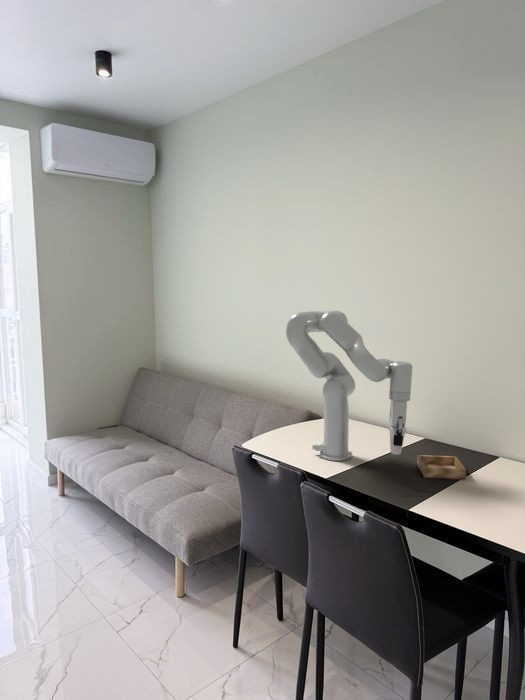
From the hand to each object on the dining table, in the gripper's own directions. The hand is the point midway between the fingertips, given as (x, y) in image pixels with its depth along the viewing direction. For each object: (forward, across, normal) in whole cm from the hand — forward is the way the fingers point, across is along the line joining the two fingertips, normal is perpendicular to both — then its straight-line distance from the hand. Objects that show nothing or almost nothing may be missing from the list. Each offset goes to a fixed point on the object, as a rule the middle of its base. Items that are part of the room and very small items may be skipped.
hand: (396, 442), depth 188 cm
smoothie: (+4, 0, 0) cm, 4 cm away
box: (+8, +5, +15) cm, 18 cm away
